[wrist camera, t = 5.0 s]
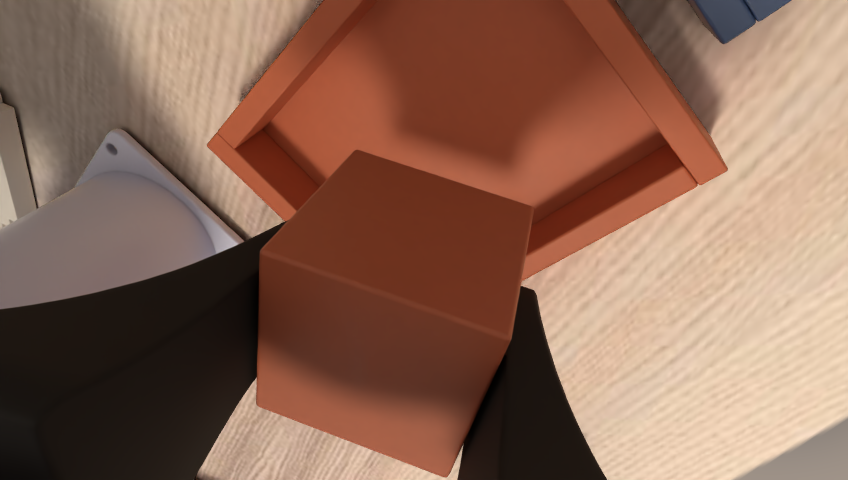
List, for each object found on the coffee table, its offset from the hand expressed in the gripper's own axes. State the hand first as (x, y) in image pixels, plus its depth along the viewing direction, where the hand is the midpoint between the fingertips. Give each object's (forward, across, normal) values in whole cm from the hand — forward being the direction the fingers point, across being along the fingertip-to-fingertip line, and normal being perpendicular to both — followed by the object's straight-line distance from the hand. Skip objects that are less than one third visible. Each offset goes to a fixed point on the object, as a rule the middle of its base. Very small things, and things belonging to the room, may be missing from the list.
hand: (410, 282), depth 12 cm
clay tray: (+7, +1, -1) cm, 8 cm away
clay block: (+1, 0, 0) cm, 1 cm away
